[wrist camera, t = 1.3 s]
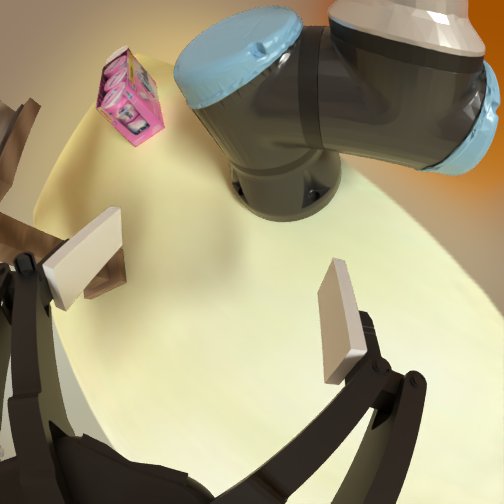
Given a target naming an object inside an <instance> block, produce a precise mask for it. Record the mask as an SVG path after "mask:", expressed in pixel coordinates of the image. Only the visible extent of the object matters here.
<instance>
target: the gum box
mask: <svg viewBox="0 0 504 504" xmlns="http://www.w3.org/2000/svg"><path fill="white" fill-rule="evenodd" d="M96 109H97V110H98V111H99V112H100V113H101V114H102V115H103V116H104V117H105V118H106V119H107V120H108V121H109V122H110V123H111V124H112V125H113V126H114V127H115V128H116V129H117V130H118V131H119V132H120V133H121V134H122V135H123V136H124V137H125V138H126V139H127V140H128V141H129V142H131V143H132V144H133V145H134V146H135V147H136V146H138V145H139V144H141V143H142V142H144V141H145V140H147V139H148V138H150V137H151V136H153V135H154V134H156V133H157V132H159V131H160V130H162V129H164V128H165V127H164V123H163V117H162V113H161V107H160V103H159V97H158V93H157V87H156V83H155V81H154V80H153V79H152V78H151V76H150V75H149V74H148V73H147V72H146V70H145V69H144V68H143V67H142V66H141V64H140V63H139V62H138V61H137V60H136V58H135V57H134V56H133V55H132V54H131V52H130V51H129V50H128V49H127V50H126V51H124V52H123V53H121V54H120V55H118V56H117V57H116V58H114V59H113V60H112V61H110V62H109V63H108V64H107V65H105V66H104V68H103V70H102V76H101V81H100V87H99V93H98V98H97V103H96Z"/></svg>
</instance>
